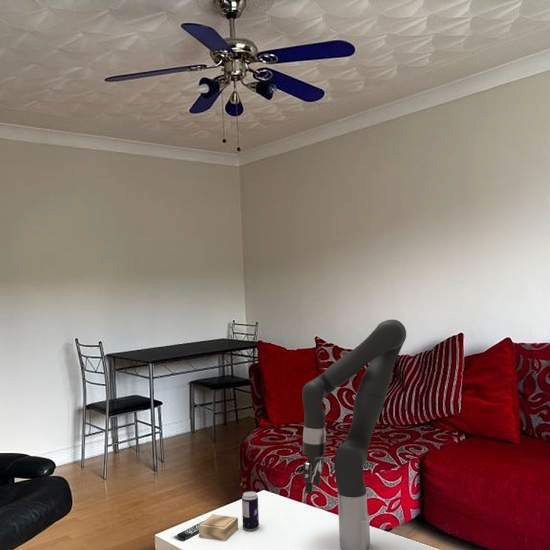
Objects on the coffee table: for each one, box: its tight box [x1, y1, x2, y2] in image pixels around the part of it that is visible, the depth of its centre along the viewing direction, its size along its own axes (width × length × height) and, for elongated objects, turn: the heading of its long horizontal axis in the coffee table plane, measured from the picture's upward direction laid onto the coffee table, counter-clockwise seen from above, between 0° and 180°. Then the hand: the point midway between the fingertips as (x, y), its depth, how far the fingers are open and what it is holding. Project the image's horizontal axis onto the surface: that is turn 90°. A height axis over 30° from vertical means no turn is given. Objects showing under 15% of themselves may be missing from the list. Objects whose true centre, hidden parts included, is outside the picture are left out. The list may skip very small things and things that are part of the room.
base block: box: [198, 514, 239, 542], centre depth 198 cm, size 10×10×4 cm
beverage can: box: [241, 491, 260, 532], centre depth 201 cm, size 6×6×12 cm
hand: (312, 488), depth 189 cm, fingers open, 8 cm apart
